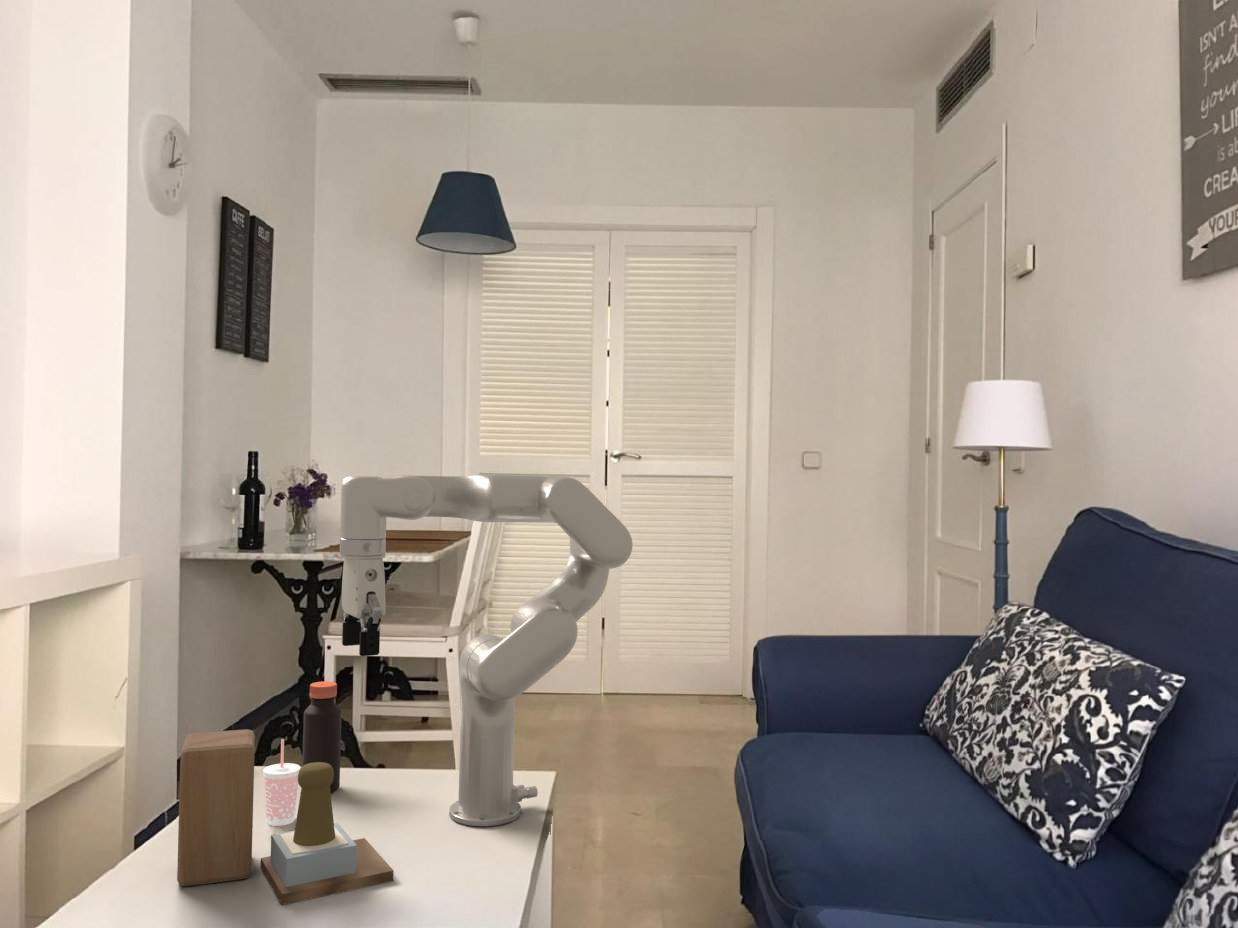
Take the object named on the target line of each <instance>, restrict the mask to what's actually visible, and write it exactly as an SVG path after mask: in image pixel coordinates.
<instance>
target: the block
mask: <svg viewBox="0 0 1238 928" xmlns="http://www.w3.org/2000/svg"><path fill="white" fill-rule="evenodd" d="M183 741H184V742H183V746H182V748H181V753H180V758H179V759H180V761H179V763H180V764H179V766H180V767H179V797H178V798H179V799H178V800H179V801H178V802H179V803H178V831H177V832H178V836H177V868H176V869H177V871H176V873H177V875H176V876H177V877H176V881H177V883H178V885H179V886H181V887H188V886H189V887H190V886H197V885H198V886H199V885H205V884H206V885H207V884H215V883H222V882H230V881H231V882H232V881H237V880H239V881H240V880H245V879H247V878H249V877H250V876H251V873H252V865H253V864H252V861H253V860H252V857H253V827H254V826H253V821H254V820H253V819H254V787H255V783H254V782H255V751H256V750H255V746H256V745H255V744H256V735H255V732H254V730H251V729H248V728H247V729H236V730H235V729H233V730H220V731H206V732H205V731H204V732H191V733H189V734H187V735H186V737H185V739H184V740H183Z"/></svg>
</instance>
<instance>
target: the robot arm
mask: <svg viewBox="0 0 1238 928" xmlns="http://www.w3.org/2000/svg"><path fill="white" fill-rule="evenodd" d="M340 492H341V493H340V521H339V522H340V524H339V527H340V528H339V529H340V530H339V531H340V534H339V558H340V559H343V567H342V583H341V609H342V611H343V614H342V628H341V629H342V634H341V644H342V646H344V647H348V646H359V648H358V649H359V650H358V652H359V653H358V654H359V656H360V657H371V656H378V655H379V654H380V642H381V641H380V640H381V622H382V619H381V618H383V617H384V616H385V615H386V610H387V609H386V607H387V606H386V577H385V576H386V575H385V573H386V572H385V567H384V566H385V565H384V559H385V558H386V553H387V552H386V549H387V548H386V547H387V546H386V545H387V540H386V539H387V518H390V519H391V518H393V519H401V520H407V521H415V520H420V519H423V518H427V517H430V518H431V517H432V518H438V517H439V518H454V519H456V518H457V519H463V520H464V519H465V520H469V521H473V522H478V523H479V522H481V523H550V524H551V523H552V524H557V526H559V527H560V528H561V530H562V531H563V532H565V533H566V535H567V536H568V537H569V558H568V561H567V565H565V568H564V569H563V570H562V571H561V573H560V574H559V575H558V576H557V577H556V578H555V579H554V580H552V581H551V582H550V583H549V584H547V585H546V586H545V587H544V588H543V589H541V590H539V592H538V593H536V594H535V595H534V596H532V597H531V598H530V599H528V600H527V601H526V602H524V603H523V604H522V605H520V606H519V607H518V608H517V609H516V611H514V613H513V614H512V617H511V619H510V632H511V633H510V634H508V635H507V636H506V637H504V638H502V637H500V636H497V635H494V634H482V635H478V636H476V637H474V638H472V639H471V640H470V641H469V642H467V644H466V645H465V646H464V647H463V649H462V652H461V655H460V657H459V664H458V665H459V666H458V674H459V676H458V677H459V690H460V726H459V727H460V728H459V729H460V730H459V731H460V733H459V739H460V740H459V769H458V771H459V776H458V800H456V801H455V802H454V803H452V804H451V805H450V807H449V817H450V818H451V819H452V820H453V821H455V822H456V823H459V824H462V825H466V826H472V827H494V826H495V827H496V826H500V825H505V824H507V823H508V824H509V823H510V822H513V821H515V820H517V819H518V818H519V817H520V815H521V813H522V806H521V804H520V802H522V801H523V799H524V800H525V799H531V798H532V799H533V798H536V797H537V796H538V788H537V786H535V785H534V786H528V787H526V786H525V784H520V785H519V784H518V785H514V758H515V757H514V756H515V755H514V754H515V753H514V751H515V725H516V722H515V721H516V718H515V717H516V714H515V713H516V712H515V710H516V708H515V706H516V704H515V698H517V697H518V696H521V694H522V695H523V694H524V693H525V692H526V691H527V690H529V689H531V687H533V685H535V684H536V683H537V682H538V681H539V680H540V679H542V678H543V677H545V675H547V674H548V673H549V672H550V671H551V670H553V669H554V668H555V667H556V666H557V665H559V664H560V663H561V662H562V661H564V659H565V658H567V656H568V655H569V654H570V653H571V651H572V650H573V648H574V647H575V644H576V641H577V639H578V631H579V629H578V624H577V623H578V621H580V619H581V618H583V616H584V615H585V614H587V613H588V612H589V611H590V610H591V609H592V608H593V607H594V606H596V604H597V603H598V602H599V600H600V599H601V597H602V596H603V594H604V592H605V589H606V587H607V584H608V579H609V575H610V569H616V568H619V567H621V566H622V565H624V564H625V563H626V562H627V561H628V560H629V559H630V556H631V554H632V552H633V545H634V543H633V538H632V536H631V533H630V531H629V530H628V528H627V527H626V526H625V525H624V523H623V522H622V521H621V520H620V519H619V518H617V516H615V514H613V512H612V511H611V510H610V509H609V508H607V506H606V505H604V504H603V502H602V501H601V500H600V499H599V498H598V497H597V496H596V495H595V493H593V492H592V491H591V490H590V489H589V488H588V487H587V486H585V484H583V483H582V482H581V481H579V480H578V479H576V478H573V477H570V476H557V475H556V476H555V475H554V476H553V475H552V476H551V475H515V474H514V475H513V474H476V475H464V476H463V475H462V476H461V475H459V476H458V475H457V476H453V475H452V476H450V475H448V476H447V475H443V476H441V475H412V474H411V475H409V474H407V475H405V474H403V475H398V476H396V477H390V478H383V477H381V476H375V475H373V476H371V475H350V476H347V477H345V478H343V480H342V482H341V489H340Z"/></svg>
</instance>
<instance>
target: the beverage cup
mask: <svg viewBox="0 0 1238 928" xmlns="http://www.w3.org/2000/svg"><path fill="white" fill-rule="evenodd" d="M280 741H281V742H280V763H275V764H271V765H268V766H266V767H264V768H263V769H262V772H263V774H262V775H263V777H264V795H265V797H264V799H265V820H266V824H267V825H269V826H274V827H275V826H277V827H280V826H286V825H290V824H292V823H294V821H296V809H297V796H298V785H299V784H298V773H299V770H300V769H301V767H302V766H300V765H299V764H296V763H292V762H291V763H290V762H286V763H285V761H284V757H285V756H284V755H285V754H284V753H285V739H284V738H281V739H280Z"/></svg>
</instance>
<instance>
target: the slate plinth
mask: <svg viewBox="0 0 1238 928" xmlns="http://www.w3.org/2000/svg"><path fill="white" fill-rule="evenodd" d="M334 829H335V838H334V839H333V840H332V841H330V842H328V843H326V844H322V845H317V846H302V845H298V844H296V843H294V842H293V837H294V831H295V830H292V831H291V830H290V831H284V832H280V833H275V834H271V835H270V856H271V860H270V861H271V863H272V865H273V866H274V868H275V870H276V871H277V873H278V875H279V876H280V878H281V880H282V881H283V883H284V884H285V886H286V887H289V886H294V885H299V884H304V883H308V882H313V881H318V880H323V879H327V878H332V877H337V876H342V875H346V874H351V873H356V859H357V845H356V844H355V843H354V841H353V840H354V839H352V838H351V837H350V835H349V834H348V833H347V832H346V831H345V830H344V828H343V827H342V826H341V825H340V824H339V823H338V822H334Z"/></svg>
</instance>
